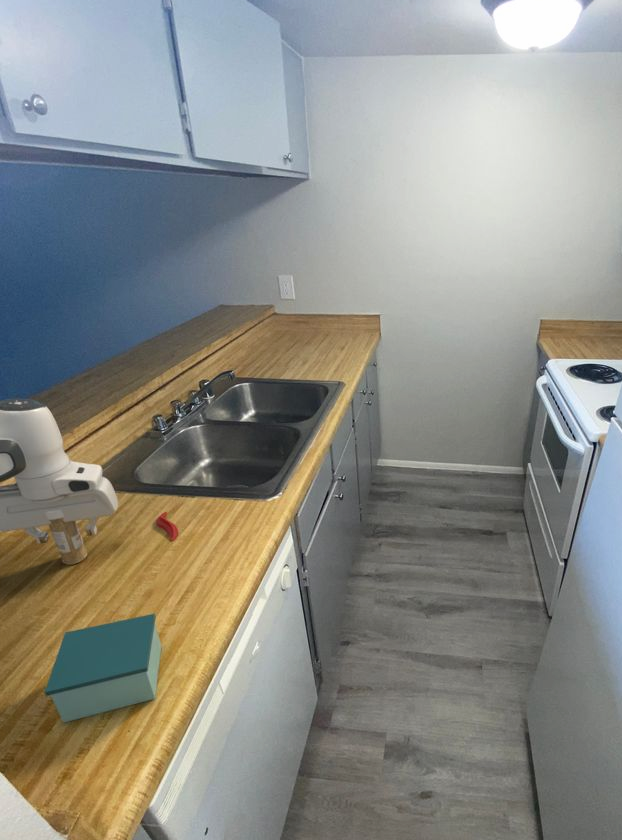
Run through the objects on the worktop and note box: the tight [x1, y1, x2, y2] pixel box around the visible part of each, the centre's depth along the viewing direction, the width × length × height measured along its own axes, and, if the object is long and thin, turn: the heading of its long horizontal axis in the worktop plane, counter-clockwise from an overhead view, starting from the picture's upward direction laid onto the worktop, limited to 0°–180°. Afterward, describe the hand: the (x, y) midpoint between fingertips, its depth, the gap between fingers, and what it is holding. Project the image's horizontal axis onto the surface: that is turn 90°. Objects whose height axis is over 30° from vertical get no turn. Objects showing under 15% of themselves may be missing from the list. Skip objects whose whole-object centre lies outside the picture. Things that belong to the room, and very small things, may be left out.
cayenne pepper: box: [155, 511, 179, 542], centre depth 108 cm, size 12×5×2 cm, turn 24°
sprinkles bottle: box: [45, 510, 89, 566], centre depth 95 cm, size 5×5×14 cm
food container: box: [44, 613, 162, 723], centre depth 72 cm, size 13×11×7 cm
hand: (68, 537), depth 96 cm, fingers open, 7 cm apart
